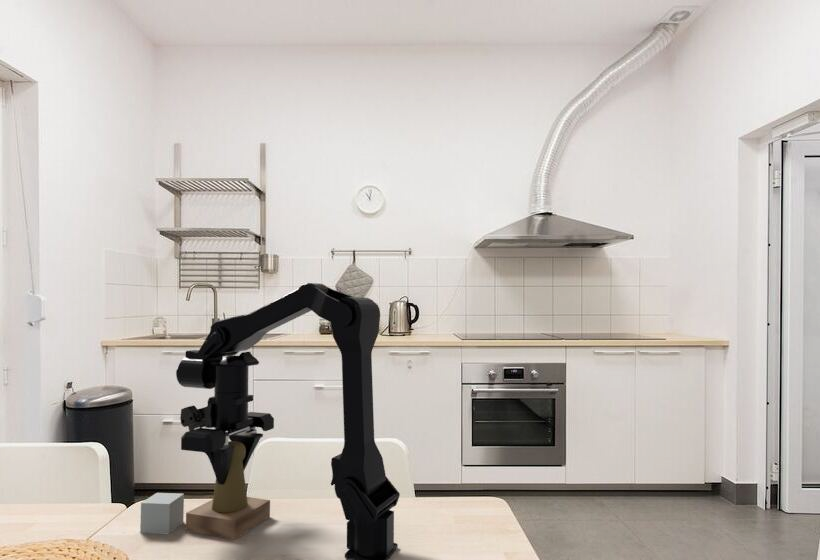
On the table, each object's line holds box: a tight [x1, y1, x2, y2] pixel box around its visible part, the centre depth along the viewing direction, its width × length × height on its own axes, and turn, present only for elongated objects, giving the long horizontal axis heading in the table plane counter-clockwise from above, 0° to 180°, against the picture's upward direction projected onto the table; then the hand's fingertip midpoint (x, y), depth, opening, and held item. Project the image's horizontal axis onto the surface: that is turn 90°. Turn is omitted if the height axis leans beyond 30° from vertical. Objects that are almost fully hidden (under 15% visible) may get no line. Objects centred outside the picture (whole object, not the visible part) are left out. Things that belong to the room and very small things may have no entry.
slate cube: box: [139, 492, 185, 535], centre depth 95 cm, size 5×5×5 cm
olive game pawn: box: [212, 440, 248, 512], centre depth 97 cm, size 6×6×11 cm
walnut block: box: [185, 496, 271, 540], centre depth 96 cm, size 10×10×3 cm
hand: (230, 479), depth 96 cm, fingers closed on olive game pawn, 4 cm apart
